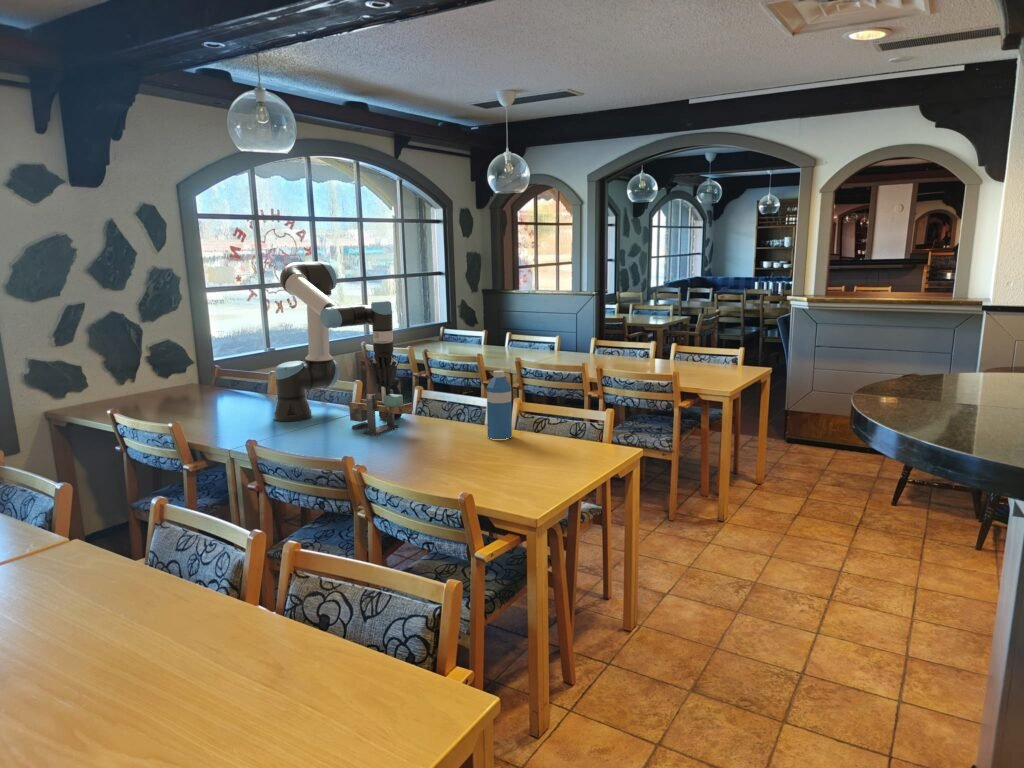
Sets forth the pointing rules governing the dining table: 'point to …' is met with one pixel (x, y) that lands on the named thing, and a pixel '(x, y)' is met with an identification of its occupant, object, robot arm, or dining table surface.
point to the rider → (393, 400)
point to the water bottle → (499, 407)
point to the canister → (396, 391)
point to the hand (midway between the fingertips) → (385, 402)
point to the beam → (360, 409)
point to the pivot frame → (372, 422)
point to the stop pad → (360, 425)
